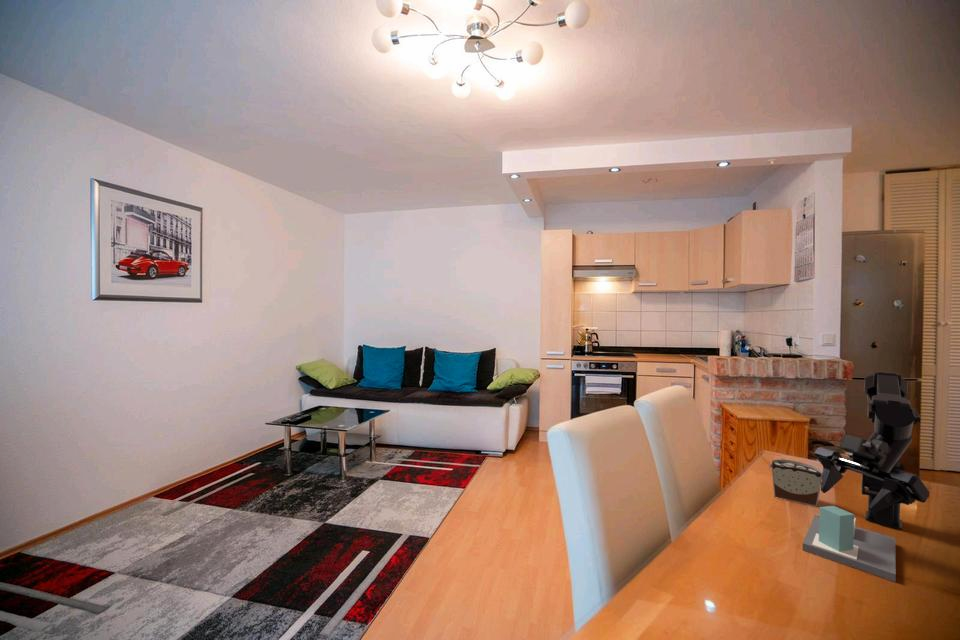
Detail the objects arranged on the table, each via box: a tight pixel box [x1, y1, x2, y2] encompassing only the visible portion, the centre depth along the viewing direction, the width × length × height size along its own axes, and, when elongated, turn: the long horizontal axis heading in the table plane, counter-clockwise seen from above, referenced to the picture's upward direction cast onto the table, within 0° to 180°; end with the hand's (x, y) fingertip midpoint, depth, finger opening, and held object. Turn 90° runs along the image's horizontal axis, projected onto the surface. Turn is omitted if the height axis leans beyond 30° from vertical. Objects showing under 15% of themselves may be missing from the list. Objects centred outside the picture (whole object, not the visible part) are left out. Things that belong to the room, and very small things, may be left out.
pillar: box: [818, 505, 855, 551], centre depth 86 cm, size 4×4×8 cm
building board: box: [802, 514, 897, 583], centre depth 88 cm, size 20×14×4 cm
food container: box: [769, 458, 823, 508], centre depth 114 cm, size 12×6×10 cm, turn 58°
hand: (845, 500), depth 86 cm, fingers open, 9 cm apart
